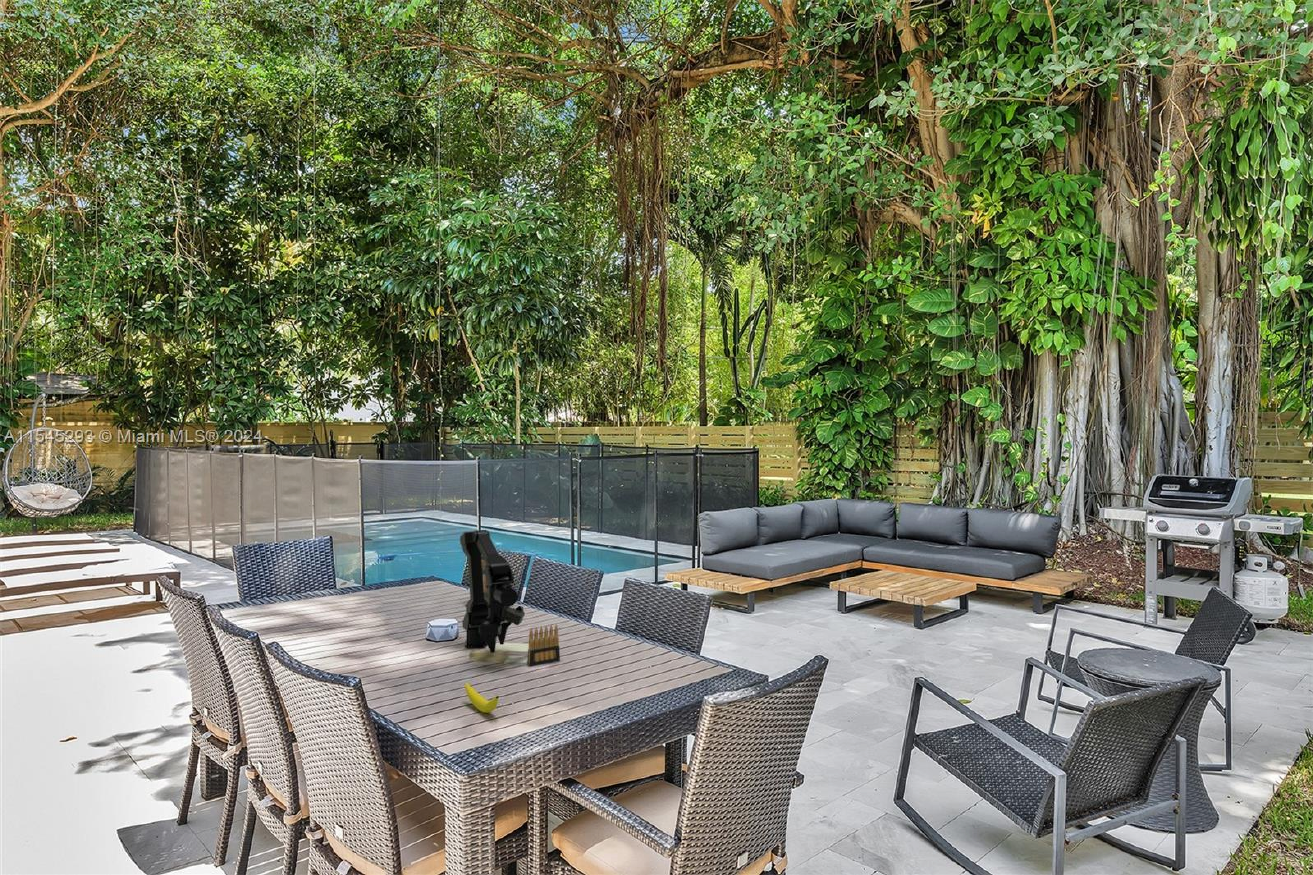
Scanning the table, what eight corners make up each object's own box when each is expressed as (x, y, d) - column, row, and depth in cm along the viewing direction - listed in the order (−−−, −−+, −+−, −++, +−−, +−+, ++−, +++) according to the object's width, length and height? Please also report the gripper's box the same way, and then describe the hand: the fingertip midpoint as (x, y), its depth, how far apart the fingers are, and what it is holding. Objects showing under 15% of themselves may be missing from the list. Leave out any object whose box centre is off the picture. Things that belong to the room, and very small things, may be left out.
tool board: (488, 653, 256) (488, 650, 256) (496, 645, 265) (496, 642, 265) (552, 656, 253) (552, 652, 253) (559, 648, 262) (559, 644, 262)
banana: (470, 699, 213) (470, 676, 213) (503, 719, 198) (503, 695, 198) (460, 701, 211) (460, 678, 211) (492, 722, 196) (492, 697, 196)
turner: (467, 663, 246) (467, 654, 246) (474, 657, 252) (474, 648, 251) (525, 665, 243) (525, 656, 243) (530, 660, 249) (530, 650, 249)
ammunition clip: (529, 666, 242) (529, 628, 242) (527, 665, 244) (527, 627, 243) (559, 661, 248) (560, 624, 248) (557, 659, 250) (557, 623, 249)
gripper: (513, 607, 237) (513, 658, 237) (529, 594, 256) (529, 641, 256) (478, 606, 238) (478, 656, 239) (497, 593, 257) (497, 640, 257)
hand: (497, 648), depth 248 cm, fingers open, 9 cm apart
